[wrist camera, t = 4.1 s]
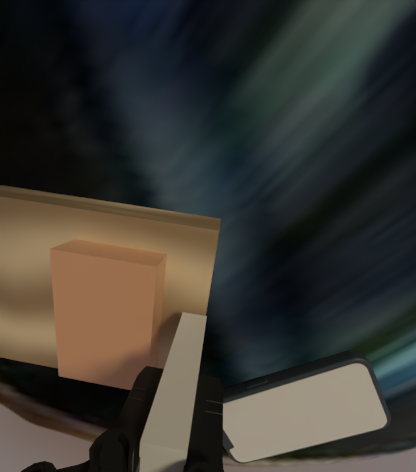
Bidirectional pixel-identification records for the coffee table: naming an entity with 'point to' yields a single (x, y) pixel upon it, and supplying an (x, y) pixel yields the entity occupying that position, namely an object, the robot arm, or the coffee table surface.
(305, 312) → the coffee table surface
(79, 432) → the coffee table surface
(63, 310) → the salmon orange slab
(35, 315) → the wooden block
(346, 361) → the phone case
